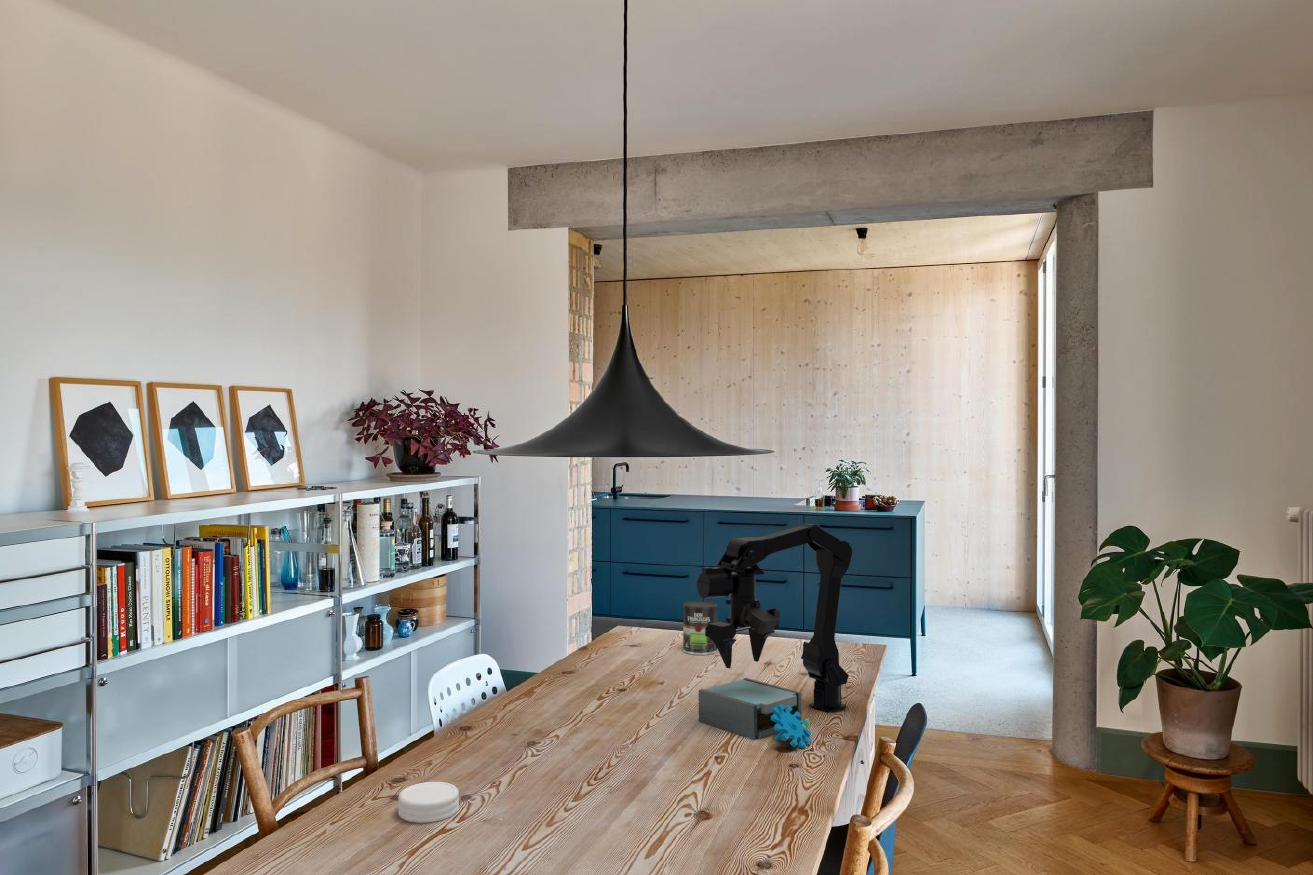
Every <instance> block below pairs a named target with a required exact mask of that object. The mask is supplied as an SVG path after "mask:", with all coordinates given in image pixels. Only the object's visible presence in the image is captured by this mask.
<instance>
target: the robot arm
mask: <svg viewBox="0 0 1313 875" xmlns="http://www.w3.org/2000/svg"><path fill="white" fill-rule="evenodd" d="M802 545H807V546H808V547H809V549H811V550H812V551H814V552H815V556H816V557H815V559H816V565H817V568H818V571H819V574H820V579H819V586H818V595H817V602H816V604H817V605H816V612H815V621H814V626H813V636H812V637H811V638H810V640H809V641H808V642H807V641H804V642H803V644H802V654H801V657H800V659H801V660H802V665H803V666H802V667H804V669H805V670H806V671H807V675H808V677H809V678H810V679H814V681H813V686H814V688H813V702H811V703H808V707H811V708H814V709H817V710H821V711H825V712H829V713H833V712H834V711H835V712H836V711H838V710H839V711H840V710H841V709H844V708H847V704H845V703H842V686H843V685H847V684H848V681H849V680H848V679H849V676H850V675H849V673H847V671H845V669H843V668H842V666H841V665H840V652H839V649H838V646H837V643H836V640H835V637H836V629H837V621H838V612H839V604H840V596H841V588H842V586H841V585H842V580H843V578H844V576H845V574H846V572H847V571H848V570H849V568H850V565H851V562H852V561H851V560H852V558H853V548H852V546H851V545H850V543H849V542H847V541H846V540H843V539H839V538H837V537H836V536H834V535H832V534H831V533H829V532H826V531H825V530H824V529H822V528H821V527H820V526H818V525H817V524H813V523H802V524H801V525H799V526H798V525H797V526H794V527H792V528H788V529H785V530H781V531H778V532H774V533H772V534H767V535H764V536H758V537H754V536H753V537H752V536H751V537H749V536H748V537H747V536H746V537H737V538H731V540H729V541H728V543H727V546H726V549H725V551H724V553H723V555H722V556H721V557H720V560H719V561H718V563H717V564H716V565H715V567H709V566H703V567H701V573H700V574H699V575H698V577H697V578H698V579H697V581H696V588H697V593H698V594H699V597H700V598H701V599H703V600H704V599H705V600H706V599H714V598H715V599H717V598H727V597H729V598H727V599H725V604H726V605H729V616H728V617H726V618H725V622H723V621H717V622H714V623H709V624H707V626H706V627H705V636H707V637H709V639H710V640H713V642H714V644H715V646H716V647H717V652H718V653H719V655H720V657H721V659H722V661H723V664H724V666H725V668H726V669H731V668H732V658H733V645H734V644H735V642H736V641H737V638H735V637H736V635H737V632H742V631H748V637H749V641H750V648H751V652H752V653H751V654H752V658H753V661H754V662H757V663H758V662H759V661H760V658H761V656H762V652H763V650H764V647H765V644H766V641H767V639H768V638H769V637H770V636H771V635H772V634H775V633H776V631H775V630H779V628H780V627H779V626H780V624H781V612H780V609H778V608H777V607H774V608H773V607H771V608H769V609H763V608H762V607H761V602H760V600H759V599H756V576H759V575H760V576H761V575H762V576H763V575H764V574H765V571H764V570H762V568H760V566H759V563H761V562H762V561H764V560H766V559H767V557H769V556H770V555H772V554H775V553H778V552H783V551H785V550H789V549H793V548H795V547H796V548H797V547H798V546H802Z"/></svg>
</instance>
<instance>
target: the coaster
mask: <svg viewBox="0 0 1313 875" xmlns="http://www.w3.org/2000/svg"><path fill="white" fill-rule="evenodd" d="M459 794H460V791H459V788H458V787H456V785H454V784H452V783H449V782H446V781H427V782H426V781H425V782H420V783H416V784H412V785H409V786H407V787H405V788H404V789H403V790H402V791H401V792H400V793H399V794H398V797H397V798H398V805H397V806H398V811H397V812H398V816H399V817H400V819H402V820H404V821H406V822H409V823H417V824H424V823H425V824H426V823H434V822H439V821H444V820H446V819H448V818H451V817H452V816H454V815H456V813H458V810H459V808H460V805H459V804H460V803H459V802H460V799H459V796H460V795H459Z"/></svg>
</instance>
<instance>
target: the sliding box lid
mask: <svg viewBox="0 0 1313 875" xmlns="http://www.w3.org/2000/svg"><path fill="white" fill-rule="evenodd" d="M743 679H744V678H743ZM743 679H739V680H735V681H731V682H727V683H723V684H719V685H715V686H711V687H707V688H703V690H706V691H710V692H713V693H716V694H720V695H723V696H727V697H730V698H733V699H737V700H740V701H744V702H747V703H750V704H754V705H757V709H759V708H761V713H764V714H769V713H772V710H773V709H774V708H775V707H777V706H778V705H779V704H782V705H783V706H784V709H785V707H786V706H787V705H789V706H790V707H792V706H795V705H797V696H796V693H793V692H789V691H785V690H781V689H778V688H774V687H770V686H766V685H762V684H758V683H754V682H751V681H747V680H743ZM764 714H763V715H764Z"/></svg>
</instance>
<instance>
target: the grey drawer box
mask: <svg viewBox="0 0 1313 875" xmlns="http://www.w3.org/2000/svg"><path fill="white" fill-rule="evenodd" d="M743 680H747V681H751V682H754V683H758V684H762V685H766V686H770V687H774V688H778V689H781V690H785V691H789V692H793V693H796V696H797V705H795V706H792V707H791V708H792V711H790V714H792V715H794V713H795V712H797V711H798V712H799V713H800V715H801V717H800V718H798V720H800V721H802V692H801V691H797V690H793V689H789V688H786V687H782V686H779V685H775V684H770V683H767V682H763V681H759V680H757V679H751V678H749V677H745V678H743ZM703 689H704V688H703ZM703 689H702V688H701V689H698V722H700V723H703V724H705V725H709V726H711V727H714V728H718V729H721V730H723V731H727V732H730V733H733V734H736V735H739V736H742V737H745V738H748V739H751V740H753V741H754V740H756V739H757V740H760V739H763V738H766V737H769V736H772V735H775V734H779V733H780V732H781V731H778V732H777V731H776V730H775V728H774V726H775V725H776V724H777V723H775V724H772V725H770V726H765V727H763V728H760V729H758V714H760V715H764V716H766V717H767V716H768V717H770V718H771V716H772V715H773V714H774V713H773V712H772V713H769V714H764V713H761V708H759V709H757V705H754V704H750V703H747V702H744V701H740V700H737V699H733V698H730V697H727V696H723V695H720V694H716V693H713V692H710V691H706V690H703ZM783 710H784V712H785V713H786V711H785V709H783ZM779 713H780V712H779Z"/></svg>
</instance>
